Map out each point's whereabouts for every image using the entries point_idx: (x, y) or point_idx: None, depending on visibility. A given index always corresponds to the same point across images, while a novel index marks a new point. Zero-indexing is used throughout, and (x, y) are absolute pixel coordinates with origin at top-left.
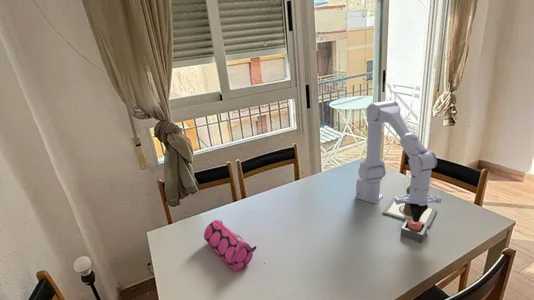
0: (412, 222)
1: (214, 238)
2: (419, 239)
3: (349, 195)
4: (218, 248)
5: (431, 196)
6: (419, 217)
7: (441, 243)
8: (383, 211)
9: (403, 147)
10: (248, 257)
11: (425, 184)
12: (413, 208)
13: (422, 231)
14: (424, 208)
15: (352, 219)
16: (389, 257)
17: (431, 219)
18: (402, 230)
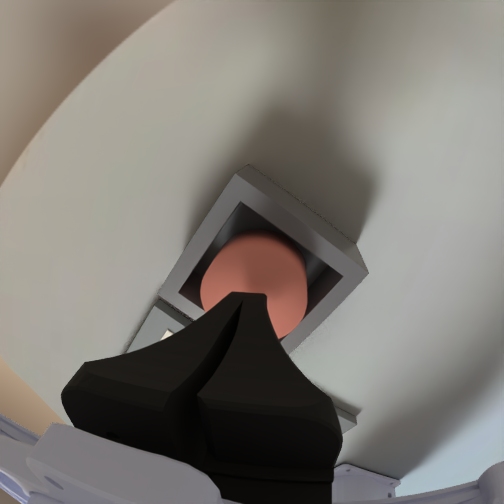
0: (269, 310)
1: None
2: (258, 176)
3: (408, 486)
4: None
5: (12, 493)
6: (216, 312)
7: (134, 161)
8: (348, 428)
9: None
10: None
11: None
12: (325, 413)
13: (221, 216)
14: (117, 378)
15: (497, 378)
16: (478, 69)
17: (132, 350)
18: (357, 258)
